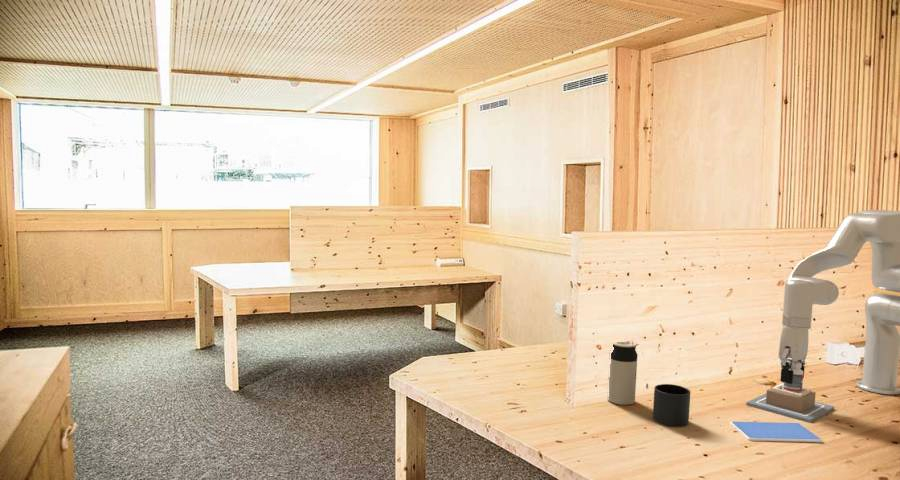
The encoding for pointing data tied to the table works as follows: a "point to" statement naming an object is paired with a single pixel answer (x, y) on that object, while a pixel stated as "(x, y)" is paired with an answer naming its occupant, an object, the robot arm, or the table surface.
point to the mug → (671, 405)
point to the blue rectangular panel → (775, 432)
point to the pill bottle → (795, 379)
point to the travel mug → (623, 373)
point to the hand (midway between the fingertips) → (792, 379)
